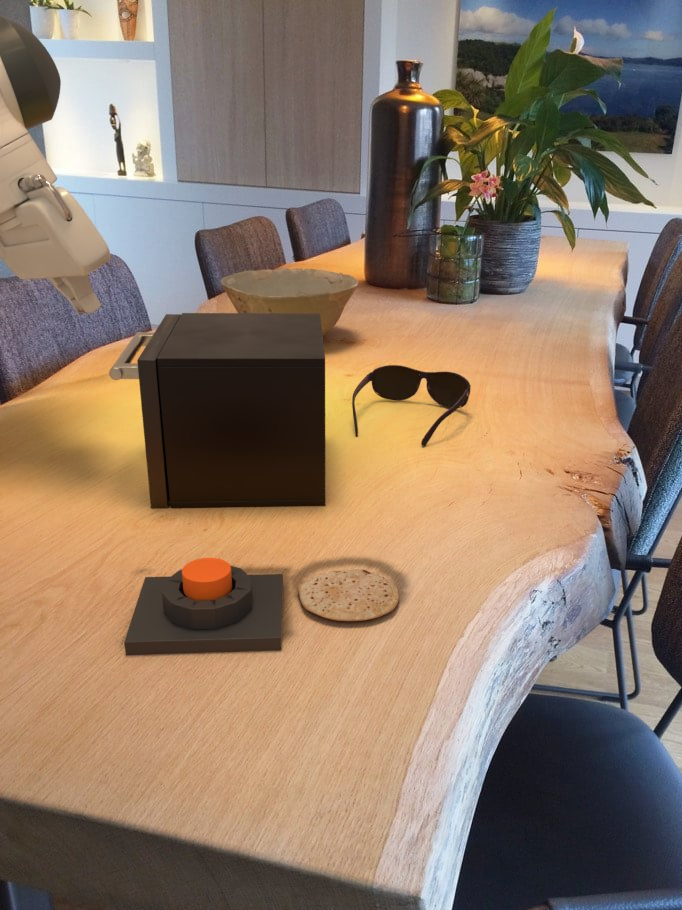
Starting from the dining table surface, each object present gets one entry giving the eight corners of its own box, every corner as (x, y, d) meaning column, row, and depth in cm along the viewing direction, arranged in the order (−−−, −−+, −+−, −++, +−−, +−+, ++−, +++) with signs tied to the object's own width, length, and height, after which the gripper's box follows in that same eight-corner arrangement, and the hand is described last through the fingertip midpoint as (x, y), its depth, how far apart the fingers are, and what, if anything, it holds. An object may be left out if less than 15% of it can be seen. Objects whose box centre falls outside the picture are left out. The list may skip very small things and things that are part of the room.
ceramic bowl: (215, 358, 128) (211, 293, 124) (233, 323, 149) (230, 266, 144) (358, 360, 129) (359, 295, 125) (356, 325, 150) (357, 269, 145)
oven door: (117, 508, 80) (101, 359, 73) (148, 440, 96) (136, 313, 90) (167, 508, 80) (155, 359, 74) (189, 440, 96) (180, 314, 90)
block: (125, 656, 59) (121, 620, 57) (146, 589, 67) (142, 557, 66) (281, 651, 60) (280, 616, 58) (283, 586, 68) (282, 554, 67)
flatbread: (399, 577, 69) (400, 567, 69) (397, 629, 62) (398, 618, 62) (302, 573, 69) (302, 563, 69) (290, 624, 63) (289, 612, 62)
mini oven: (170, 509, 80) (156, 358, 74) (191, 441, 96) (181, 312, 90) (325, 507, 81) (325, 358, 75) (320, 440, 98) (320, 313, 91)
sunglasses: (472, 408, 109) (475, 371, 107) (448, 450, 96) (450, 409, 94) (374, 397, 113) (375, 361, 111) (336, 436, 99) (336, 396, 97)
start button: (180, 602, 60) (178, 582, 60) (186, 577, 64) (184, 557, 63) (230, 601, 61) (229, 581, 60) (233, 576, 64) (232, 556, 63)
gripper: (72, 154, 73) (156, 293, 80) (3, 180, 88) (80, 294, 95) (11, 189, 70) (104, 329, 77) (-48, 209, 86) (34, 324, 93)
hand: (90, 310), depth 87 cm, fingers closed
